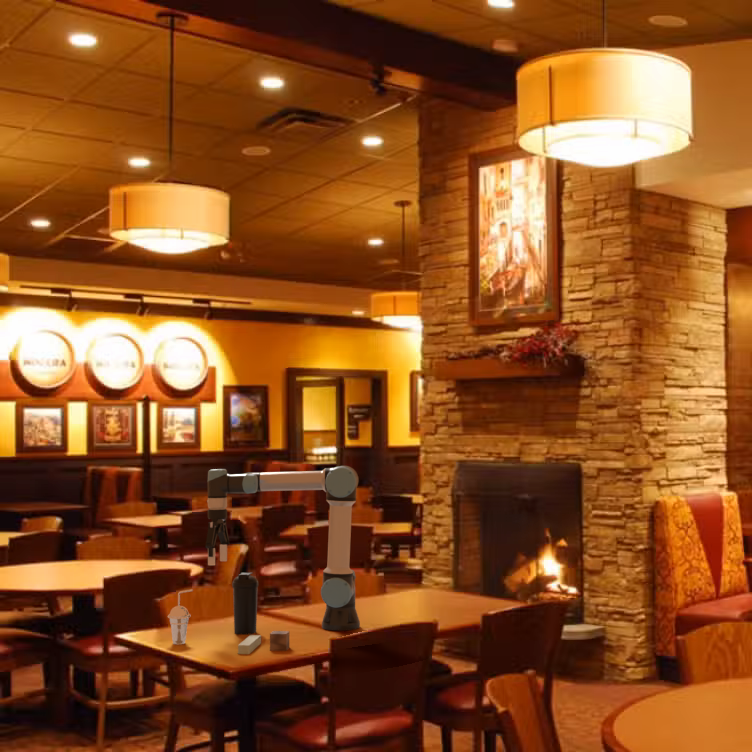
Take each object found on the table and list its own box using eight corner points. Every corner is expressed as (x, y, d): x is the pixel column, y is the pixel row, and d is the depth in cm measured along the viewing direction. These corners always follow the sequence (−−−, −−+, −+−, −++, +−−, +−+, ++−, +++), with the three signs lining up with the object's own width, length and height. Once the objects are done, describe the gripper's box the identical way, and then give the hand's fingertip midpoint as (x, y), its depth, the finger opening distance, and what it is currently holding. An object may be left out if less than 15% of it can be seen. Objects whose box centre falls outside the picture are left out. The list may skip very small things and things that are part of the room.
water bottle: (260, 630, 441) (260, 571, 442) (255, 635, 431) (255, 574, 432) (235, 630, 442) (235, 571, 443) (229, 634, 432) (229, 574, 433)
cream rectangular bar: (260, 643, 414) (260, 635, 414) (249, 654, 394) (249, 645, 394) (250, 643, 414) (250, 635, 414) (238, 653, 394) (238, 645, 395)
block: (289, 647, 406) (289, 631, 406) (286, 651, 400) (286, 634, 400) (273, 647, 406) (273, 630, 407) (269, 650, 400) (269, 633, 401)
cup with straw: (176, 640, 421) (177, 586, 422) (196, 642, 417) (196, 588, 418) (162, 644, 413) (162, 589, 414) (182, 646, 409) (182, 591, 410)
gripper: (219, 506, 451) (219, 559, 450) (196, 510, 427) (197, 566, 426) (236, 506, 450) (237, 559, 449) (215, 510, 425) (215, 567, 424)
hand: (217, 563), depth 437 cm, fingers open, 13 cm apart
